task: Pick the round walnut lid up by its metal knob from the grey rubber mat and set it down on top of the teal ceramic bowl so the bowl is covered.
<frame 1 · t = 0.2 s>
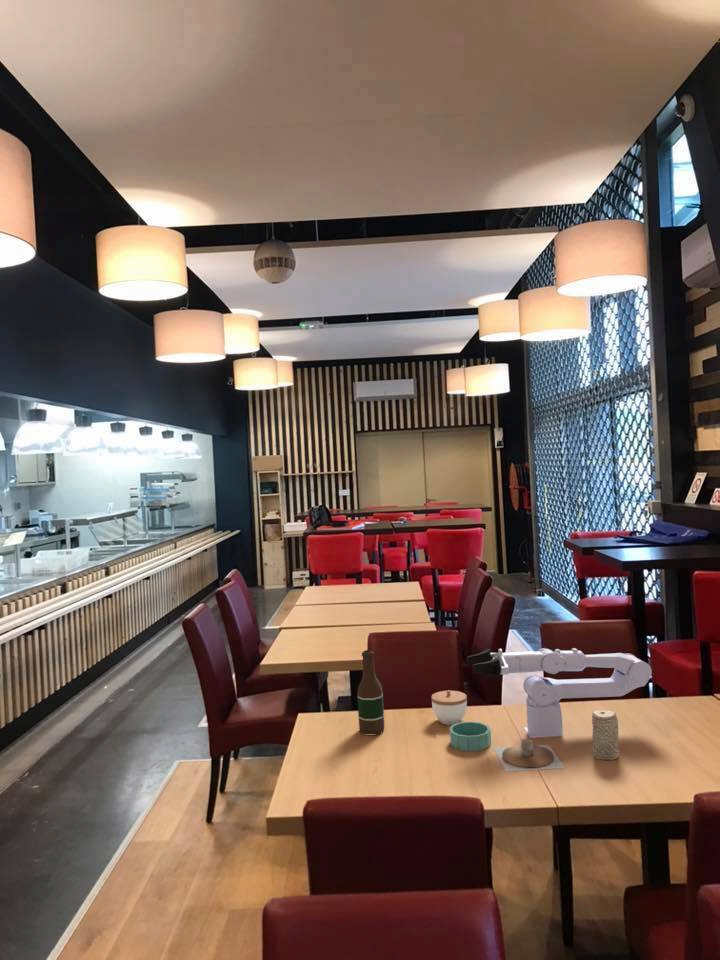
hand: (469, 664, 202), 21 cm above the table, tool horizontal, fingers open, 7 cm apart
carving: (606, 759, 184), on the table
lid: (527, 757, 186), point 1 cm above the table, touching mat
bowl: (470, 744, 198), on the table
lidded jar: (450, 721, 217), on the table
beer bottle: (372, 731, 212), on the table
mat: (527, 759, 186), on the table
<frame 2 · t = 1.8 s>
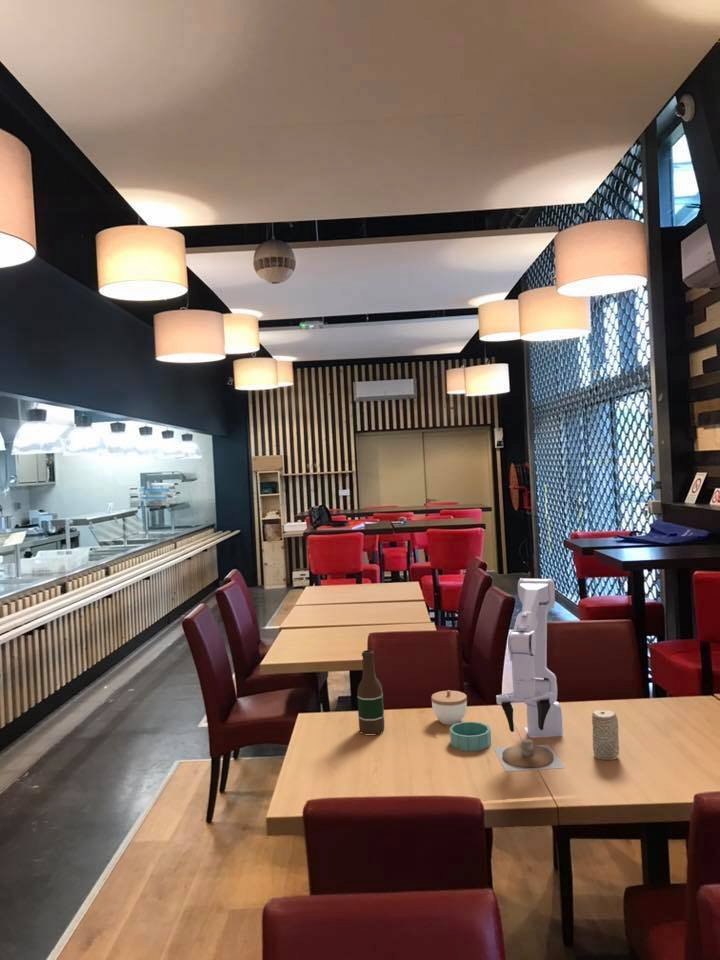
hand: (526, 729, 186), 8 cm above the table, tool pointing down, fingers open, 7 cm apart
nothing on the table moved.
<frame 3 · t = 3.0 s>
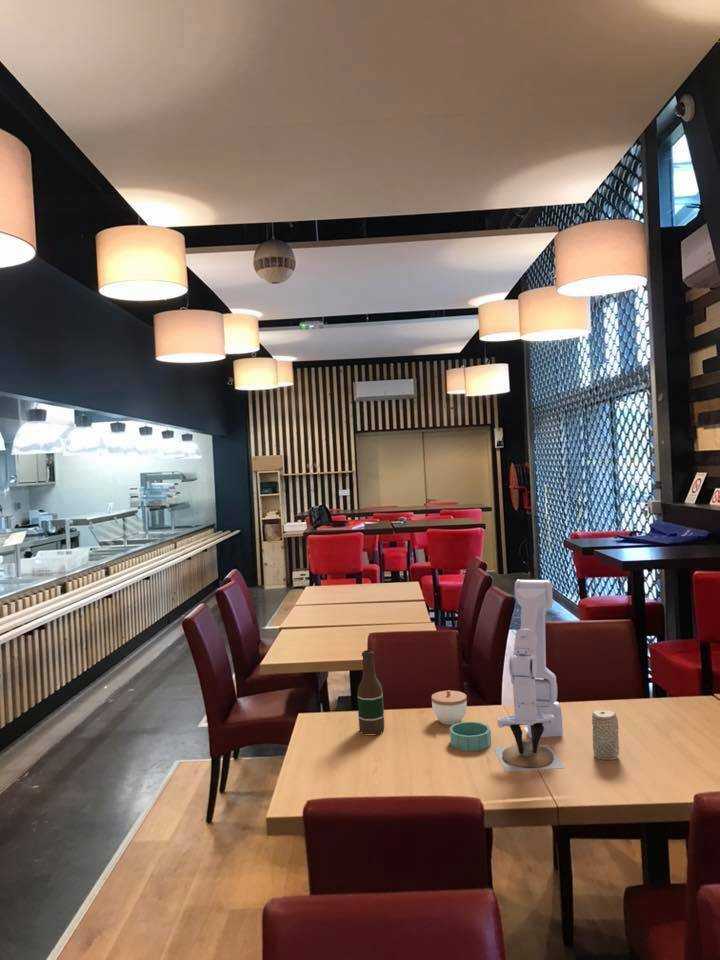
hand: (527, 752, 186), 2 cm above the table, tool pointing down, fingers closed on lid, 3 cm apart
lid: (527, 757, 186), point 1 cm above the table, touching gripper, mat
everything else where it was.
when the fingers open (7 cm above the table, at t = 6.2 s): lid stays where it is, resting on bowl.
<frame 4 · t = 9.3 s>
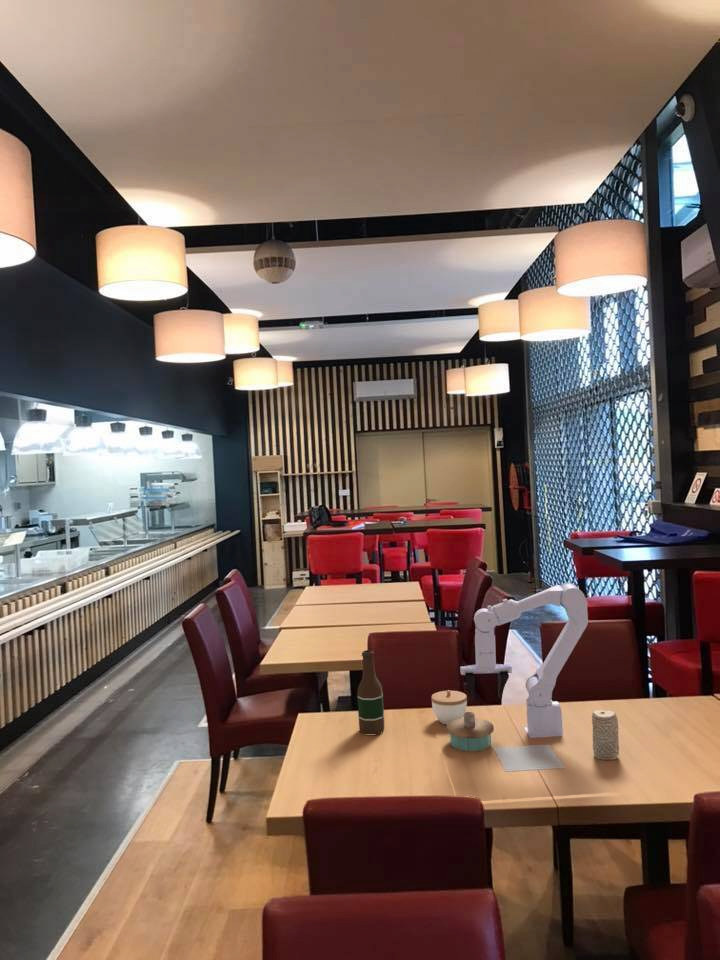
hand: (486, 698, 205), 10 cm above the table, tool pointing down, fingers open, 7 cm apart
lid: (469, 729, 197), point 4 cm above the table, touching bowl
everything else where it was.
at the end: lid 0.2 cm off-centre on the bowl, point 4.5 cm above the bowl's base; lid tilted 0°; the gripper is holding nothing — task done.
